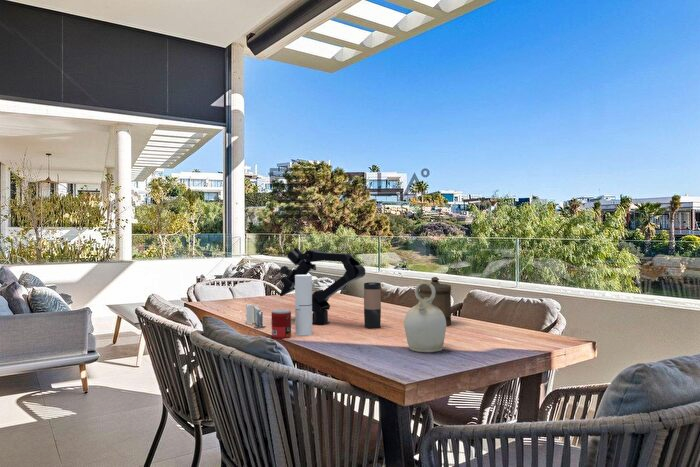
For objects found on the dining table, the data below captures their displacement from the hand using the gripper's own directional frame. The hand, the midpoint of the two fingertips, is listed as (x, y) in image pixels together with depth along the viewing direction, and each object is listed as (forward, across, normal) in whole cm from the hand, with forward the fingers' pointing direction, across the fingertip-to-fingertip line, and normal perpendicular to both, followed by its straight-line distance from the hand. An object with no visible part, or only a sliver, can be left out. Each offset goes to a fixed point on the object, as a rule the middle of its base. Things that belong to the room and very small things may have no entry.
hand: (280, 295), depth 245 cm
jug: (-32, +44, +65) cm, 85 cm away
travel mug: (-19, +6, +43) cm, 48 cm away
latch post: (+19, +3, -2) cm, 20 cm away
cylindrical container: (0, +25, +24) cm, 35 cm away
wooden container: (-38, -6, +64) cm, 75 cm away
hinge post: (+14, +14, +6) cm, 20 cm away
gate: (+15, +7, +2) cm, 17 cm away
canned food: (+5, +32, +19) cm, 37 cm away
